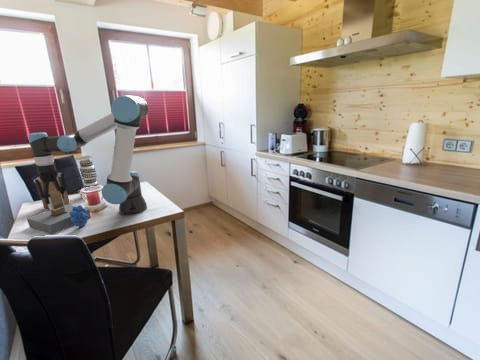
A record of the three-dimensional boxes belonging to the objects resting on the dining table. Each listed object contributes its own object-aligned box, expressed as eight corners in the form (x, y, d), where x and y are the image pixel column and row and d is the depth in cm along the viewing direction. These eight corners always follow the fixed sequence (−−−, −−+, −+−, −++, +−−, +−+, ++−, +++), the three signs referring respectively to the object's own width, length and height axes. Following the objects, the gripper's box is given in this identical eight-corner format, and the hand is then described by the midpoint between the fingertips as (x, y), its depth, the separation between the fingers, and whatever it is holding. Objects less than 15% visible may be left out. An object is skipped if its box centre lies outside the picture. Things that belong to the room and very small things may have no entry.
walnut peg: (66, 215, 136) (60, 191, 132) (57, 219, 132) (50, 194, 128) (61, 214, 138) (54, 190, 134) (52, 218, 134) (45, 193, 130)
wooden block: (70, 202, 164) (62, 172, 158) (58, 208, 154) (49, 177, 148) (56, 202, 165) (48, 173, 159) (43, 208, 155) (34, 177, 149)
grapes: (82, 232, 124) (77, 209, 120) (69, 232, 124) (63, 210, 121) (96, 221, 135) (91, 200, 131) (84, 221, 135) (79, 200, 132)
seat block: (90, 217, 140) (88, 209, 139) (52, 234, 123) (49, 225, 122) (68, 212, 149) (66, 204, 147) (29, 227, 131) (26, 218, 130)
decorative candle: (82, 195, 176) (74, 160, 169) (94, 191, 184) (86, 157, 177) (92, 196, 173) (83, 161, 165) (103, 192, 181) (96, 158, 174)
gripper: (59, 159, 136) (69, 200, 142) (20, 167, 120) (33, 212, 127) (68, 160, 132) (77, 202, 139) (29, 169, 117) (42, 215, 124)
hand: (56, 207), depth 133 cm, fingers closed on walnut peg, 5 cm apart
